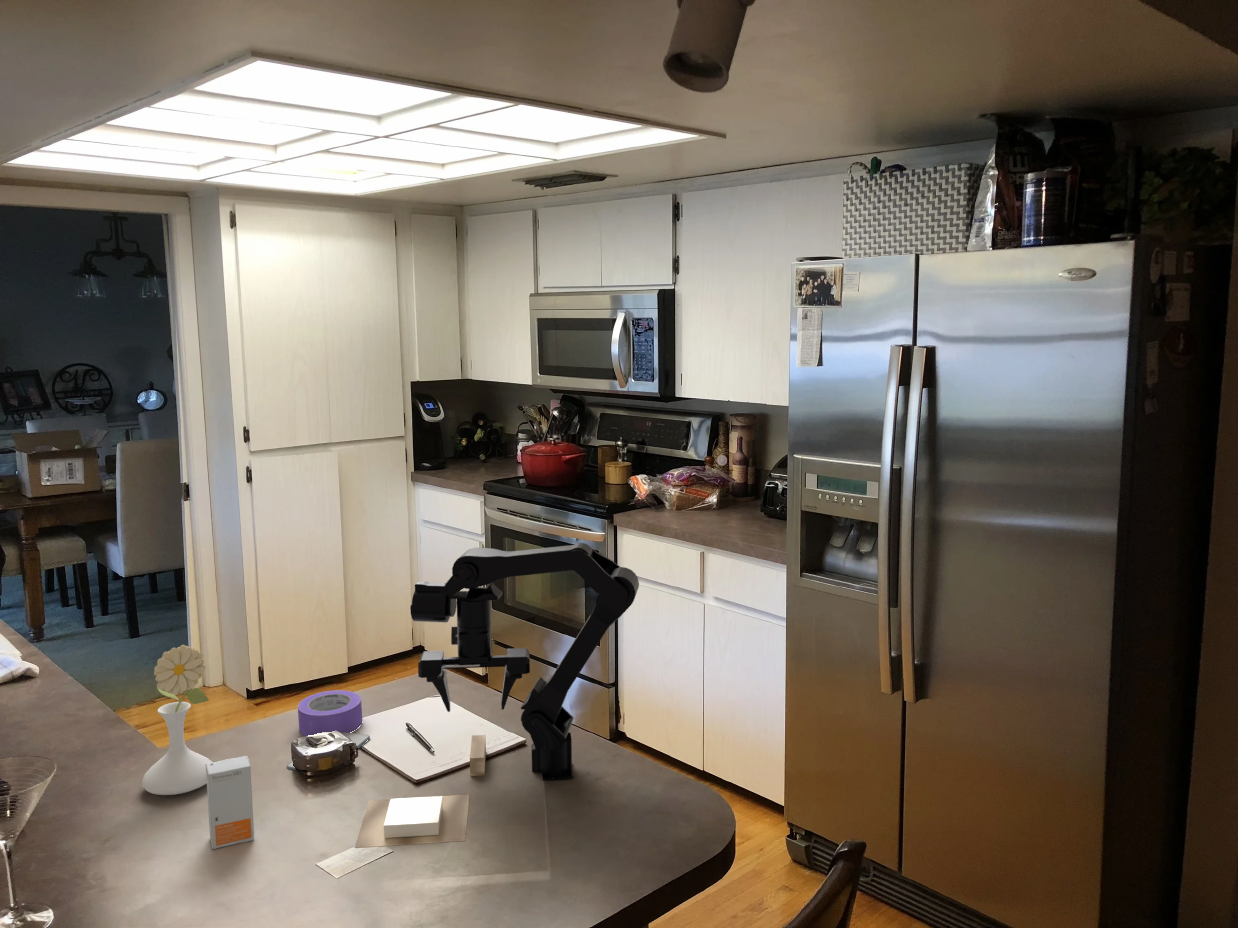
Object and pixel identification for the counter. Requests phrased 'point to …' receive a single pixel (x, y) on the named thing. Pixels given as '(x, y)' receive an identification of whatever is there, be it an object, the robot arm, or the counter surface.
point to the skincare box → (230, 801)
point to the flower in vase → (178, 724)
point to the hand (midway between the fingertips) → (475, 709)
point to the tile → (413, 817)
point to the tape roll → (330, 712)
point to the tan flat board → (449, 832)
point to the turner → (477, 755)
